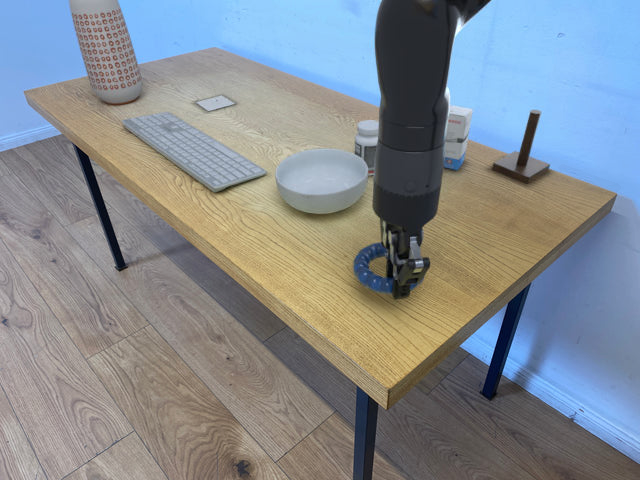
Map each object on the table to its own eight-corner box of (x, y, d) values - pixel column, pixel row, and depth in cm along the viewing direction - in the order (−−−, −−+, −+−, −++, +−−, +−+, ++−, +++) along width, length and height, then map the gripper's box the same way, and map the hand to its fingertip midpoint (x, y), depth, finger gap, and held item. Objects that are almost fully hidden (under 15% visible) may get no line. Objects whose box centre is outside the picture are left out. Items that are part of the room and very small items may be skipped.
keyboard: (268, 175, 97) (267, 165, 96) (216, 198, 91) (214, 187, 89) (168, 114, 124) (166, 105, 122) (122, 128, 117) (119, 119, 116)
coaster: (195, 102, 129) (195, 99, 129) (221, 95, 133) (221, 92, 133) (208, 111, 124) (207, 108, 124) (235, 103, 128) (234, 101, 127)
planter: (156, 94, 135) (129, -16, 118) (122, 111, 126) (88, -6, 108) (120, 88, 140) (90, -19, 122) (85, 104, 130) (47, -10, 113)
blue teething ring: (440, 273, 66) (442, 261, 64) (390, 309, 60) (391, 297, 59) (387, 241, 72) (388, 230, 70) (337, 271, 67) (337, 259, 65)
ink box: (464, 161, 100) (474, 107, 93) (457, 171, 97) (467, 116, 90) (426, 152, 104) (433, 100, 96) (418, 161, 100) (424, 108, 93)
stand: (548, 170, 96) (566, 112, 89) (527, 184, 92) (544, 124, 85) (513, 156, 101) (527, 100, 94) (491, 169, 97) (505, 111, 90)
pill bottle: (385, 166, 99) (388, 121, 93) (376, 178, 95) (379, 132, 89) (359, 161, 101) (361, 117, 95) (349, 173, 97) (350, 128, 91)
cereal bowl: (312, 171, 98) (311, 139, 94) (383, 194, 90) (385, 161, 86) (259, 209, 87) (255, 175, 83) (333, 239, 79) (333, 204, 75)
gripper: (465, 204, 47) (442, 323, 58) (419, 144, 58) (408, 253, 69) (392, 213, 46) (383, 331, 57) (360, 150, 57) (357, 259, 68)
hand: (396, 288), depth 63 cm, fingers closed on blue teething ring, 2 cm apart
